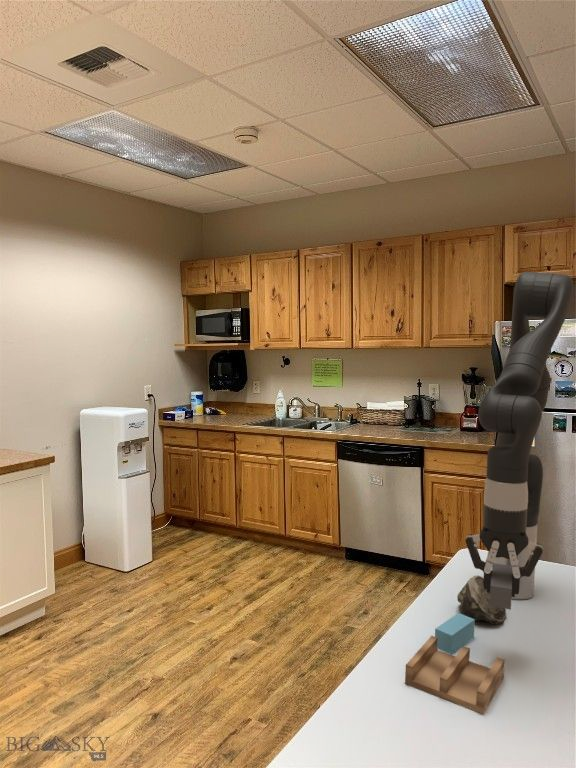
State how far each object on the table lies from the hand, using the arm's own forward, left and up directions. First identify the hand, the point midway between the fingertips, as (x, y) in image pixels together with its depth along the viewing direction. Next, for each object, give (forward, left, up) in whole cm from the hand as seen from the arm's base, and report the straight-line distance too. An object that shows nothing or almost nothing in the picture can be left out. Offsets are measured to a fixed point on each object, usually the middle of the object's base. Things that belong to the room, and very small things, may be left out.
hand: (501, 592), depth 108 cm
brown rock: (-15, -8, -14) cm, 22 cm away
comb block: (+11, -4, -13) cm, 18 cm away
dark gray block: (-1, 0, -1) cm, 1 cm away
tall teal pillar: (-2, -9, -14) cm, 16 cm away
